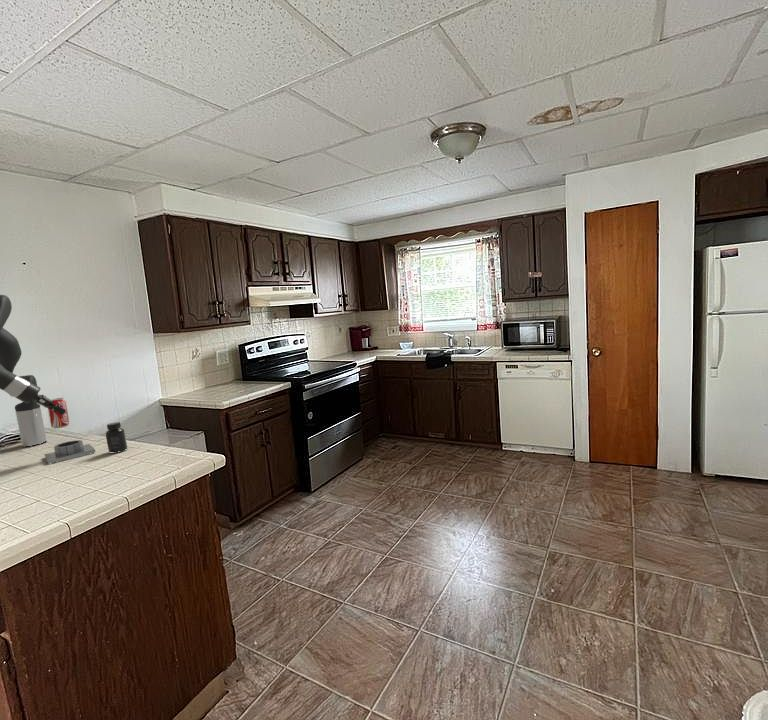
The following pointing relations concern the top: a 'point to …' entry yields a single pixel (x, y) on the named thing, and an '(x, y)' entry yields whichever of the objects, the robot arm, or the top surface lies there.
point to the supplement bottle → (116, 437)
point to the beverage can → (58, 414)
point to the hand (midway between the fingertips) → (63, 411)
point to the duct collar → (69, 451)
